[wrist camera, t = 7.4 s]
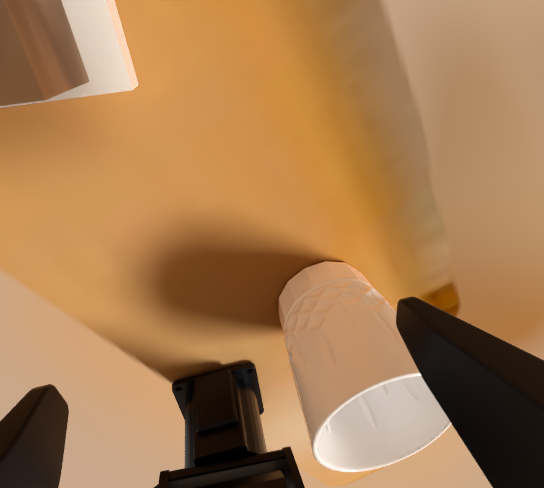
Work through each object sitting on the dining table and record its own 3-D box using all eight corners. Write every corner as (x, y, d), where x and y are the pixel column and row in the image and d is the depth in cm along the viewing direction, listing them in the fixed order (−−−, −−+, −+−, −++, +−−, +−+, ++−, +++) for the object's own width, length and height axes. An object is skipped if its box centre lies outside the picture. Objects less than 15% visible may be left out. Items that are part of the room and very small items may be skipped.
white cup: (383, 306, 27) (472, 427, 18) (295, 351, 27) (343, 488, 19) (352, 233, 23) (451, 347, 14) (250, 288, 23) (286, 429, 15)
